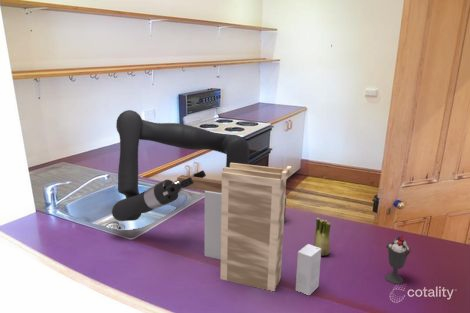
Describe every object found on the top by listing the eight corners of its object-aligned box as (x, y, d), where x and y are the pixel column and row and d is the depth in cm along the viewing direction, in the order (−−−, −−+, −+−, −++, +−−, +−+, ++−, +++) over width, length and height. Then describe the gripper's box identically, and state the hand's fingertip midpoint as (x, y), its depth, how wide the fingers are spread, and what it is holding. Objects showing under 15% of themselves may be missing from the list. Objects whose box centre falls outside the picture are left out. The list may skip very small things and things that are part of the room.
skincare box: (305, 281, 102) (308, 243, 99) (318, 287, 99) (322, 248, 97) (294, 290, 97) (297, 251, 95) (308, 297, 95) (311, 256, 92)
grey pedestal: (211, 249, 119) (211, 186, 114) (233, 253, 116) (234, 190, 111) (204, 256, 115) (204, 191, 110) (227, 261, 112) (228, 195, 107)
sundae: (395, 287, 100) (402, 239, 96) (377, 275, 106) (383, 229, 102) (412, 282, 102) (419, 235, 99) (393, 271, 108) (399, 225, 105)
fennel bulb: (311, 249, 121) (314, 216, 118) (325, 249, 121) (328, 216, 118) (317, 258, 115) (320, 224, 112) (331, 257, 115) (335, 223, 113)
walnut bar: (181, 183, 117) (181, 175, 116) (257, 194, 108) (257, 185, 107) (177, 186, 114) (177, 177, 113) (253, 197, 105) (254, 188, 104)
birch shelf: (229, 267, 108) (231, 159, 101) (284, 279, 102) (291, 166, 95) (220, 278, 102) (221, 165, 94) (278, 293, 96) (285, 172, 88)
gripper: (143, 190, 112) (181, 171, 106) (167, 179, 125) (203, 161, 119) (154, 211, 113) (193, 193, 106) (176, 197, 126) (213, 181, 119)
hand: (198, 176), depth 112 cm, fingers open, 8 cm apart
